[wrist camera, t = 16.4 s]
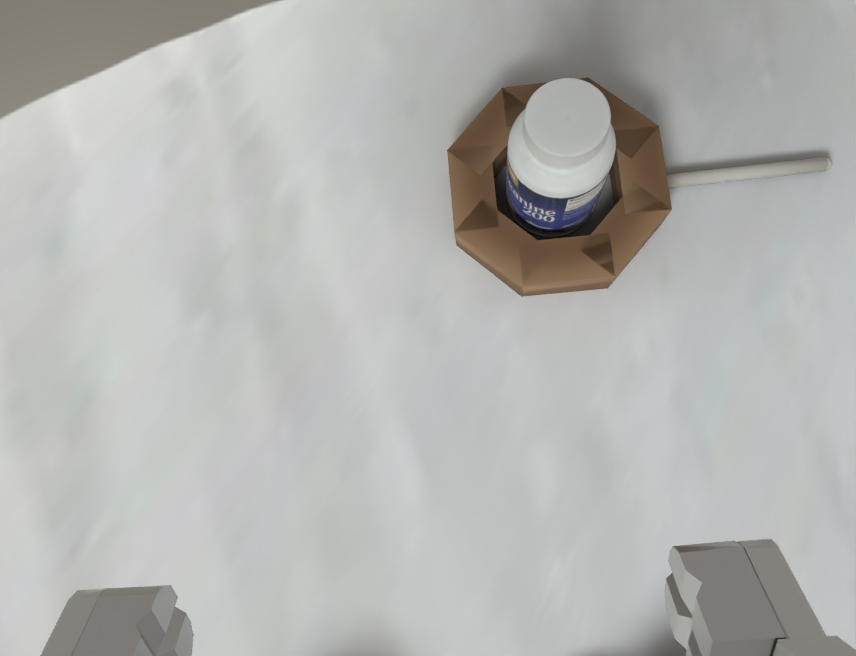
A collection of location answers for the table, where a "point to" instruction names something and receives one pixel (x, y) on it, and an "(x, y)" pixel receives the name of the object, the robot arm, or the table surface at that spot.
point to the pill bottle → (559, 157)
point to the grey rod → (749, 172)
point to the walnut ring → (562, 257)
